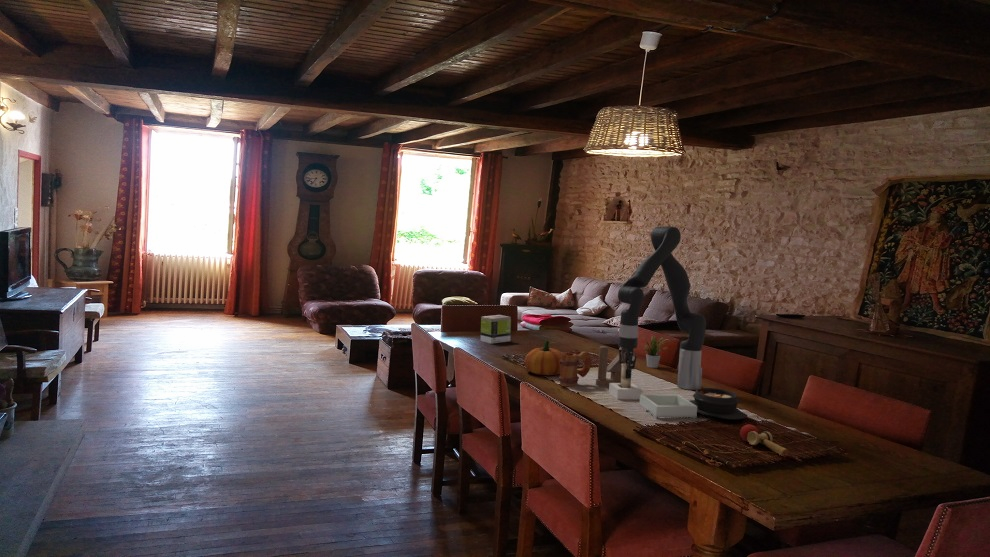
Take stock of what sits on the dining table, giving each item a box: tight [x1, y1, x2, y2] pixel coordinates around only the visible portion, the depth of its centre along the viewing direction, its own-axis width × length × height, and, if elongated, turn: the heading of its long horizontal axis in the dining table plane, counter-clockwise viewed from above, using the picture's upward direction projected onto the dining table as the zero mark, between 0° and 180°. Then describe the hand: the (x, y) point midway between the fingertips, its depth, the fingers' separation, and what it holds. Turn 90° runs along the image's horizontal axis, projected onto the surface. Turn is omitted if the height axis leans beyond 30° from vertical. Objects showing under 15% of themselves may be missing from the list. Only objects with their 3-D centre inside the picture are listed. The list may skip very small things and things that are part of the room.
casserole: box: [688, 387, 748, 421], centre depth 247 cm, size 25×19×8 cm
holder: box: [608, 382, 642, 400], centre depth 264 cm, size 10×10×5 cm
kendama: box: [739, 423, 789, 457], centre depth 211 cm, size 8×6×18 cm
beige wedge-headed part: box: [595, 345, 622, 388], centre depth 280 cm, size 4×11×18 cm, turn 111°
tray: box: [639, 394, 698, 419], centre depth 247 cm, size 16×16×4 cm
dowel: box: [621, 363, 632, 388], centre depth 264 cm, size 4×4×11 cm
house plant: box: [642, 334, 670, 369], centre depth 325 cm, size 14×14×16 cm
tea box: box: [480, 314, 512, 345], centre depth 375 cm, size 15×10×15 cm, turn 130°
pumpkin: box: [524, 340, 563, 376], centre depth 302 cm, size 19×19×15 cm
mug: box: [557, 350, 592, 388], centre depth 280 cm, size 15×8×15 cm, turn 105°
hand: (626, 376), depth 264 cm, fingers closed on dowel, 4 cm apart
